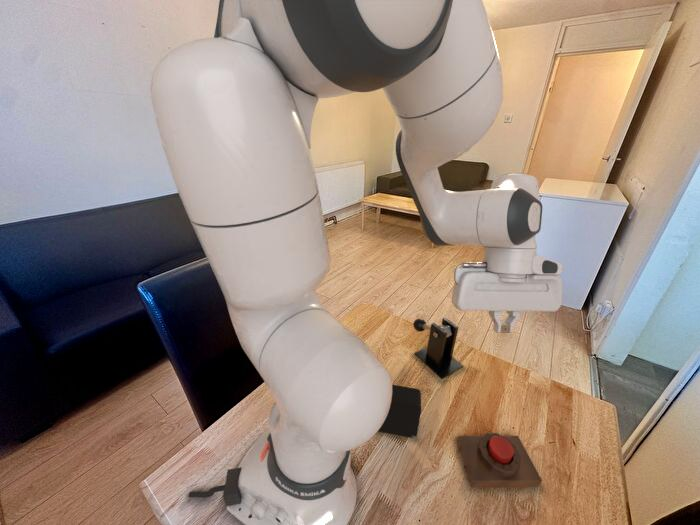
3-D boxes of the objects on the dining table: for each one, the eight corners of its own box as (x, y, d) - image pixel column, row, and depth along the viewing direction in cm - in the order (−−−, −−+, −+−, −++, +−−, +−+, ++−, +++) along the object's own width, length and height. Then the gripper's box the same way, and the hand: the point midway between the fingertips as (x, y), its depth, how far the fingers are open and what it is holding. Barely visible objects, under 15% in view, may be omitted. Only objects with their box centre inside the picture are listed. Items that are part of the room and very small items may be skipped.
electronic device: (416, 439, 58) (421, 407, 54) (368, 429, 60) (369, 398, 56) (416, 420, 62) (421, 389, 58) (370, 412, 64) (372, 380, 59)
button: (493, 464, 51) (495, 458, 50) (483, 441, 54) (485, 435, 54) (515, 463, 51) (518, 458, 50) (504, 441, 55) (506, 435, 54)
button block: (471, 487, 51) (476, 475, 49) (456, 442, 58) (459, 430, 56) (538, 487, 51) (545, 474, 49) (514, 442, 58) (520, 429, 56)
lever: (412, 332, 81) (409, 320, 80) (421, 327, 82) (419, 316, 82) (444, 341, 70) (441, 327, 70) (454, 336, 72) (451, 322, 71)
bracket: (413, 356, 79) (419, 319, 73) (434, 345, 82) (441, 310, 77) (441, 382, 71) (449, 343, 65) (462, 369, 75) (472, 331, 69)
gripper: (462, 263, 51) (457, 337, 53) (571, 265, 52) (564, 338, 53) (448, 260, 57) (444, 326, 59) (546, 261, 58) (540, 327, 60)
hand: (502, 332), depth 56 cm, fingers closed
